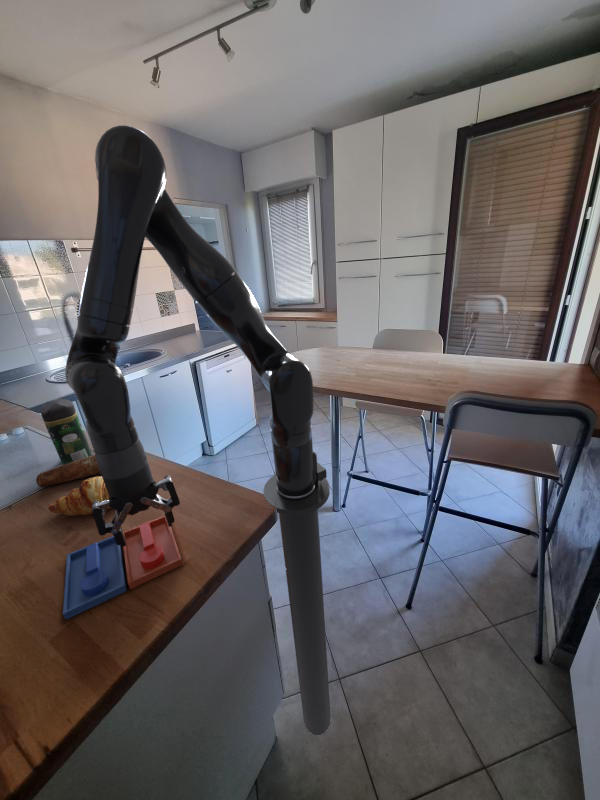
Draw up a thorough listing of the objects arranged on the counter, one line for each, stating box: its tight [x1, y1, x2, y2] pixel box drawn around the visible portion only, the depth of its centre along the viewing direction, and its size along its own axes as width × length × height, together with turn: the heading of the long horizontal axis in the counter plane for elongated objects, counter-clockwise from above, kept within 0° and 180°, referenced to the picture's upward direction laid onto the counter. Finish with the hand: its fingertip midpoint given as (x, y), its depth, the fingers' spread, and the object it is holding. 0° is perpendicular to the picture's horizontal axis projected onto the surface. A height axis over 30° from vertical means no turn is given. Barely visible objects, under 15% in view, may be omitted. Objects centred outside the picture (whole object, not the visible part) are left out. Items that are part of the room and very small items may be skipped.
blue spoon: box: [80, 541, 109, 596], centre depth 60 cm, size 11×4×2 cm, turn 31°
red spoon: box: [138, 521, 164, 569], centre depth 65 cm, size 11×4×2 cm, turn 31°
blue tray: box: [62, 535, 128, 620], centre depth 61 cm, size 9×14×1 cm, turn 31°
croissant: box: [47, 475, 112, 517], centre depth 79 cm, size 21×10×8 cm, turn 113°
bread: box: [35, 454, 100, 488], centre depth 90 cm, size 6×19×6 cm, turn 112°
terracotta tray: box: [122, 515, 184, 590], centre depth 65 cm, size 9×14×1 cm, turn 31°
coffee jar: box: [40, 397, 93, 465], centre depth 95 cm, size 10×8×19 cm
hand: (147, 533), depth 66 cm, fingers open, 8 cm apart
